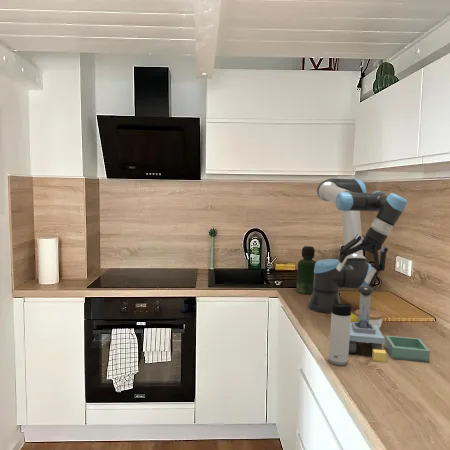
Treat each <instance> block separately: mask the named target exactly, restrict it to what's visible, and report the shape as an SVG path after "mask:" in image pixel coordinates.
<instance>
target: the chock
mask: <svg viewBox="0 0 450 450" xmlns="http://www.w3.org/2000/svg"><path fill="white" fill-rule="evenodd" d="M371 351H372V352H371V358H372V360H373V362H383V363H386V362H387V354H388V352H386V350H385V349H382V350H379V349H372V348H371Z"/></svg>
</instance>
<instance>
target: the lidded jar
mask: <svg viewBox="0 0 450 450" xmlns="http://www.w3.org/2000/svg"><path fill="white" fill-rule="evenodd" d="M354 315H355V316H356V318H357V322H358V320H359V309H356V310H355V311H354ZM383 317H384V314H383V313H382V312H381V311H378V310H374V309H370V314H369V323H371V324H373V325H377V326H378V328H379V329H380V328H381V326H382V323H383Z"/></svg>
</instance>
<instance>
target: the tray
mask: <svg viewBox="0 0 450 450" xmlns="http://www.w3.org/2000/svg"><path fill="white" fill-rule="evenodd" d="M384 347H385V349H386V351H387V354H389V355H390V358H391V359H392V360H401V361H411V362H421V363H430V357H431V350H430V349H429V347H427V345H426V344H425V343H424V342H423V340H421V338H419V337H406V336H397V335H396V336H395V335H385V337H384Z"/></svg>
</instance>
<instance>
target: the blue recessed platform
mask: <svg viewBox="0 0 450 450" xmlns="http://www.w3.org/2000/svg"><path fill="white" fill-rule="evenodd" d="M357 342H358V343H359V342H360V343H367V344H368V346H371V350H372V349H379V350H383V345H385V337H384V335H383V333H382V332H381V330H380V328H378V326H377V325H373V324H371V323H369V328H368V329H365V328H358V322H352V323H351V325H350V339H349V353H353V354H356V352H357Z"/></svg>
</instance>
